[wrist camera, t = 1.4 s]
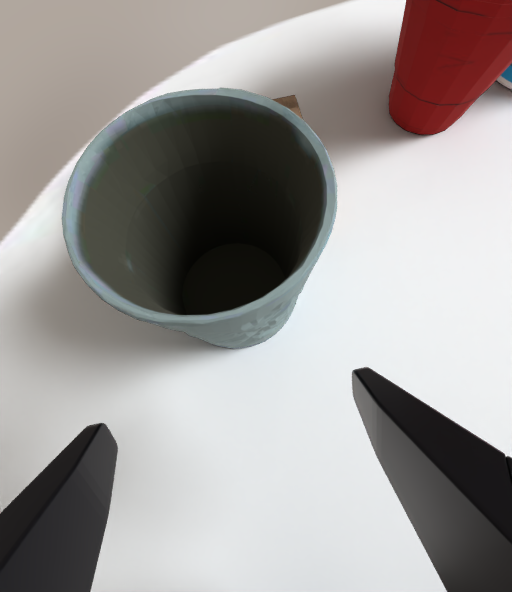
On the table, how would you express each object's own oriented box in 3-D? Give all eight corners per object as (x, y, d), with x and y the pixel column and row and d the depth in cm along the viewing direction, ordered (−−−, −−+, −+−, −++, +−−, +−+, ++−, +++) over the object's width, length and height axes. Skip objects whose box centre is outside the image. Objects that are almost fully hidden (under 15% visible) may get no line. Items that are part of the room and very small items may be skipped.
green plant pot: (334, 295, 22) (397, 190, 11) (227, 395, 21) (169, 396, 9) (240, 207, 25) (212, 47, 13) (139, 289, 23) (7, 187, 12)
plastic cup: (342, 73, 28) (389, -142, 17) (460, 55, 28) (586, -173, 17) (373, 170, 25) (456, -15, 14) (506, 150, 25) (701, -55, 14)
